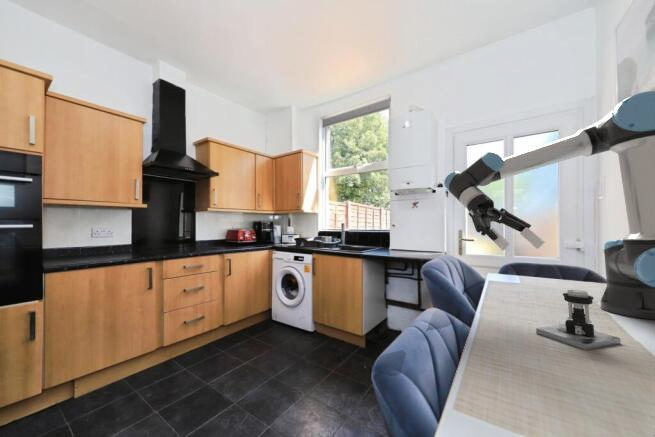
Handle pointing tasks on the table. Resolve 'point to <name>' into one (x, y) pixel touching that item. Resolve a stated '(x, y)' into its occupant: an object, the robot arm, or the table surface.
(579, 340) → the flange plate
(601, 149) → the robot arm
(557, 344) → the table surface
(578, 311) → the push button
